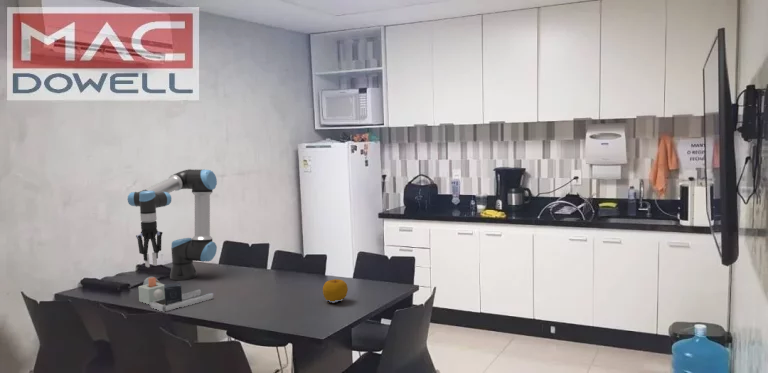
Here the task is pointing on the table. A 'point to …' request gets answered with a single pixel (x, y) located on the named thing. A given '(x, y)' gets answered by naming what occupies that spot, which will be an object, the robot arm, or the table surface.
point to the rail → (161, 307)
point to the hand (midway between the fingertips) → (151, 265)
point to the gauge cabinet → (151, 293)
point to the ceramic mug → (148, 282)
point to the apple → (335, 290)
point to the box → (172, 293)
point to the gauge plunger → (152, 282)
